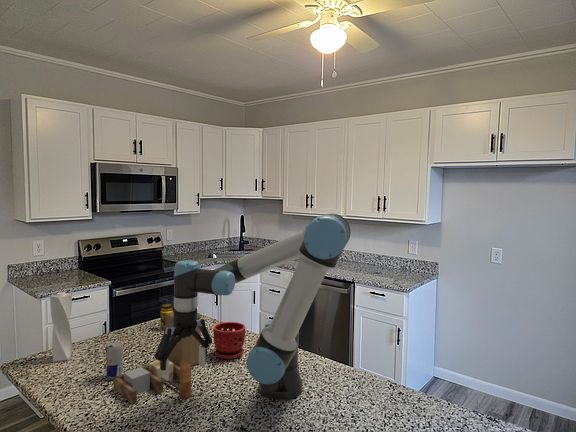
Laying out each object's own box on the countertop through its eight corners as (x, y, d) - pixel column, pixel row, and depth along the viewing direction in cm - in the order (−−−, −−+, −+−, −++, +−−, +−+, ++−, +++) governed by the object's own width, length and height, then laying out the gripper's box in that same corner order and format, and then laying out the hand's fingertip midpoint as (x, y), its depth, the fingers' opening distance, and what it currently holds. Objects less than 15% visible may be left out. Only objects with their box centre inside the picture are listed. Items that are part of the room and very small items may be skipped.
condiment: (161, 333, 181) (161, 308, 180) (156, 327, 188) (156, 303, 187) (177, 330, 186) (177, 305, 185) (171, 324, 192) (171, 301, 192)
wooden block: (186, 355, 157) (186, 307, 156) (201, 363, 151) (201, 313, 150) (164, 364, 150) (164, 313, 148) (179, 372, 143) (179, 319, 142)
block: (149, 389, 130) (149, 372, 130) (132, 396, 126) (132, 378, 126) (141, 383, 134) (141, 366, 134) (124, 389, 130) (124, 372, 130)
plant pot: (250, 356, 158) (251, 327, 157) (221, 364, 150) (221, 334, 150) (236, 345, 169) (236, 318, 168) (208, 352, 161) (208, 324, 160)
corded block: (196, 394, 128) (196, 362, 127) (180, 401, 124) (180, 368, 123) (164, 373, 142) (164, 344, 141) (149, 379, 137) (148, 349, 136)
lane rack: (187, 382, 135) (187, 371, 135) (133, 404, 121) (132, 392, 121) (166, 369, 145) (166, 359, 145) (113, 388, 130) (113, 377, 130)
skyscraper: (76, 353, 157) (75, 285, 156) (72, 361, 150) (70, 290, 148) (52, 355, 155) (51, 287, 153) (47, 364, 147) (45, 292, 145)
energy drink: (104, 376, 138) (103, 344, 138) (118, 371, 142) (118, 340, 142) (110, 382, 135) (109, 348, 134) (125, 376, 139) (125, 344, 138)
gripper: (210, 298, 137) (208, 356, 138) (143, 314, 118) (142, 380, 120) (223, 303, 132) (221, 363, 133) (155, 320, 113) (154, 390, 115)
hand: (184, 372), depth 127 cm, fingers open, 13 cm apart
